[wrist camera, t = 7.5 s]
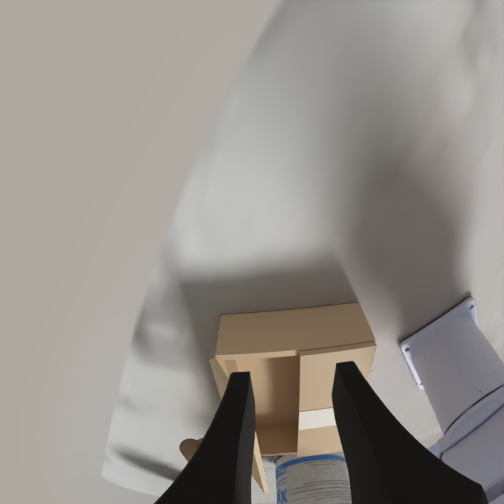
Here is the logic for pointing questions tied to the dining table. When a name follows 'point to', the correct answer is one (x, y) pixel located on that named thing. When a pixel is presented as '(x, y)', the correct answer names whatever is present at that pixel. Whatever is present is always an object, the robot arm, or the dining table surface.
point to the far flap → (191, 445)
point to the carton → (295, 370)
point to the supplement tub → (313, 479)
